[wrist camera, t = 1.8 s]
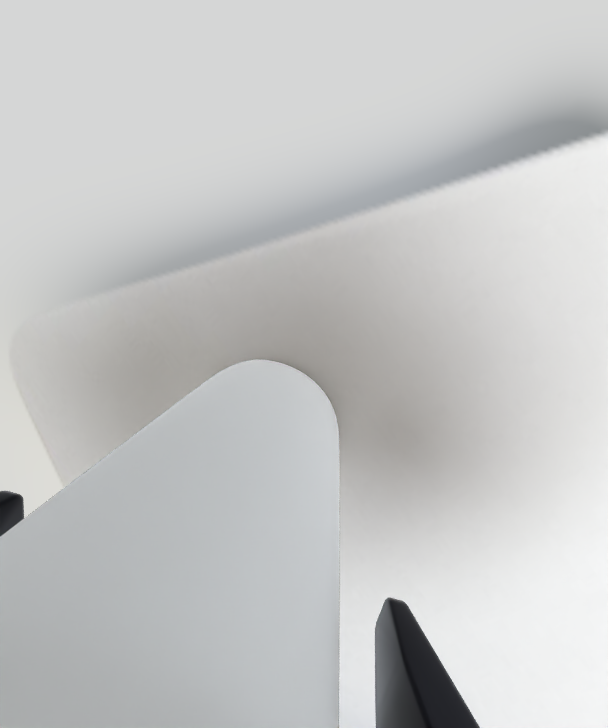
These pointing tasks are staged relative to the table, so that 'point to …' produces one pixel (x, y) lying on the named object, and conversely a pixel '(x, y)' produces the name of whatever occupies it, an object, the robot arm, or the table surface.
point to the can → (186, 571)
